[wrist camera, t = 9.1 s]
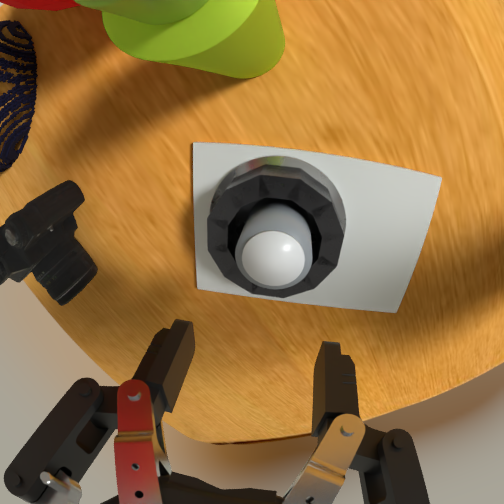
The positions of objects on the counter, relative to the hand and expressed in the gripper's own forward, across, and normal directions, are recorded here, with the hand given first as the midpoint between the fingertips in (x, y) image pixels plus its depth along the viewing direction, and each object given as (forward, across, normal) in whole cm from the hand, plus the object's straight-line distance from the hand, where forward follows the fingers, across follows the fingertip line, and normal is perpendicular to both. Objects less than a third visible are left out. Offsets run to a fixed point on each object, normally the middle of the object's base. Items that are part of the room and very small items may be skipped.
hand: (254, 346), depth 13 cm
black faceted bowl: (+13, 0, 0) cm, 13 cm away
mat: (+13, -3, +1) cm, 14 cm away
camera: (+14, +24, +5) cm, 28 cm away
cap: (+13, 0, 0) cm, 13 cm away
